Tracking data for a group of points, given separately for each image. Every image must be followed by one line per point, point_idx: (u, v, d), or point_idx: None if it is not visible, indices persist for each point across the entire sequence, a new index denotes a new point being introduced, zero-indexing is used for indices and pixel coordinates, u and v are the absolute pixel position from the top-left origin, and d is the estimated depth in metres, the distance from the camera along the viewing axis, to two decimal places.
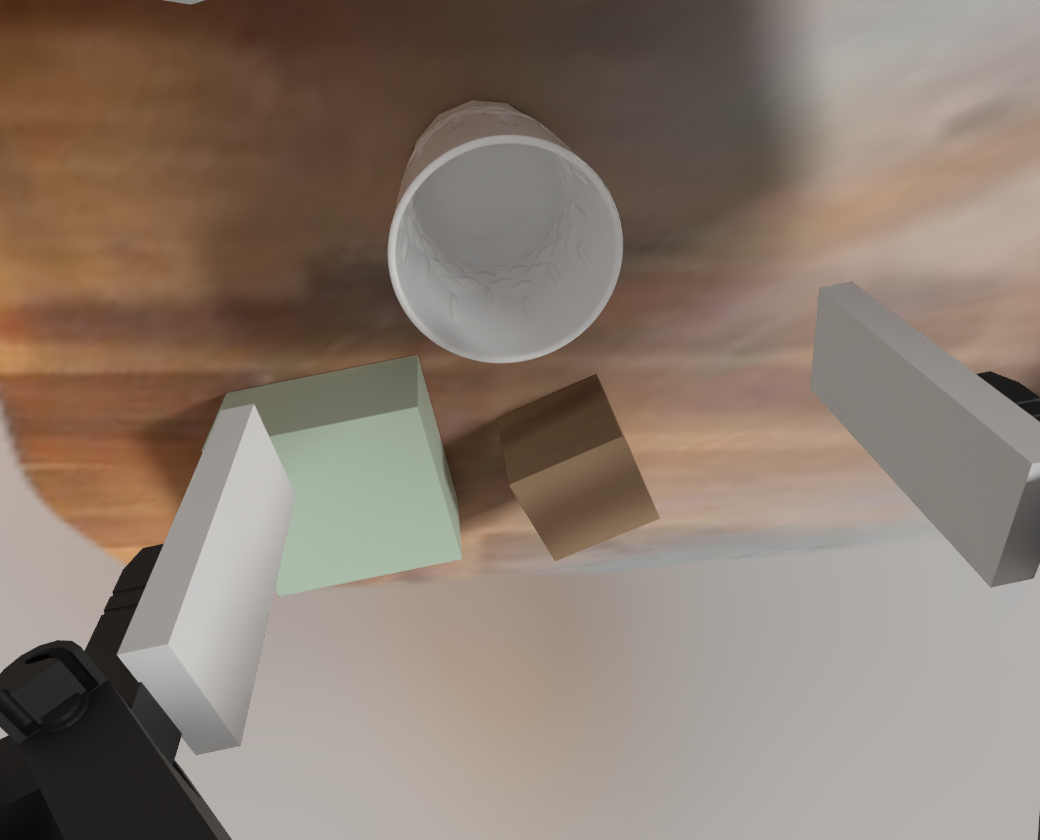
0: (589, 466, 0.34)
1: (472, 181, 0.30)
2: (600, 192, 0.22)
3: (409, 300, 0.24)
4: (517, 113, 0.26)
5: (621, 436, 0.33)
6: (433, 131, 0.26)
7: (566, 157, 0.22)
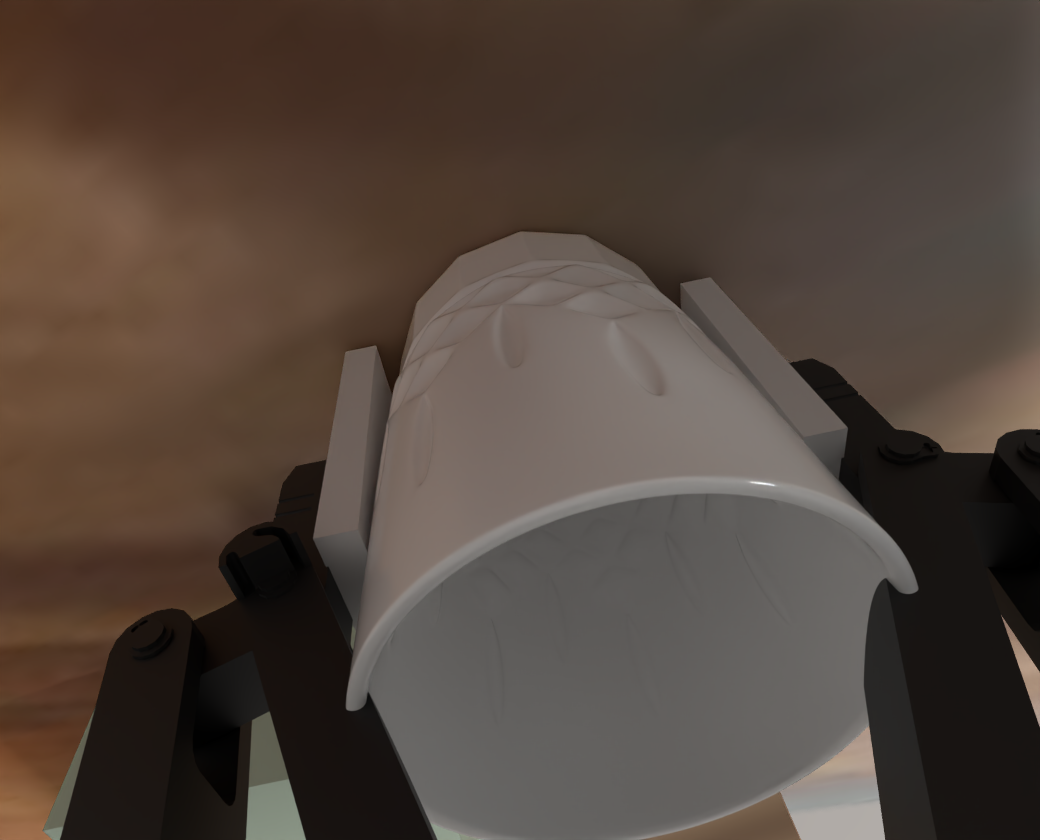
0: None
1: None
2: (889, 571, 0.09)
3: None
4: (625, 287, 0.13)
5: None
6: (452, 327, 0.13)
7: (826, 514, 0.08)
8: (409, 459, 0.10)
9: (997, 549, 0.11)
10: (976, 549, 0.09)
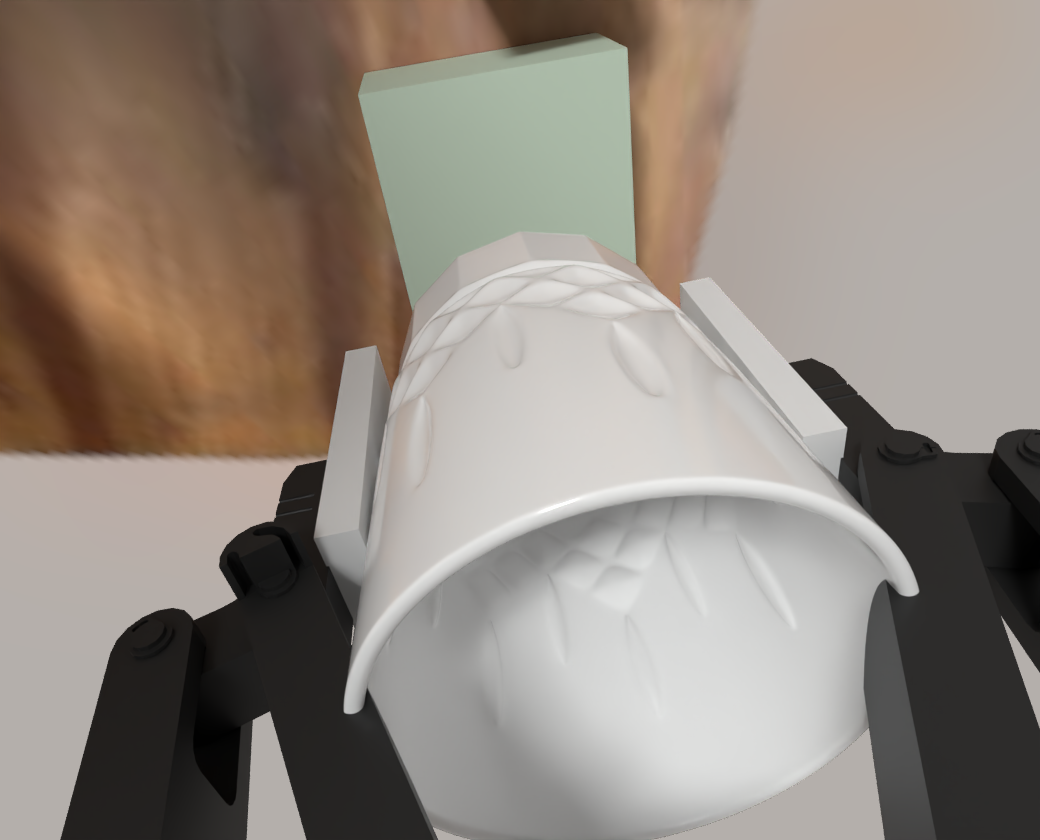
0: None
1: None
2: (890, 572, 0.09)
3: None
4: (624, 287, 0.13)
5: None
6: (451, 327, 0.13)
7: (826, 516, 0.08)
8: (407, 460, 0.10)
9: (996, 549, 0.11)
10: (975, 549, 0.09)
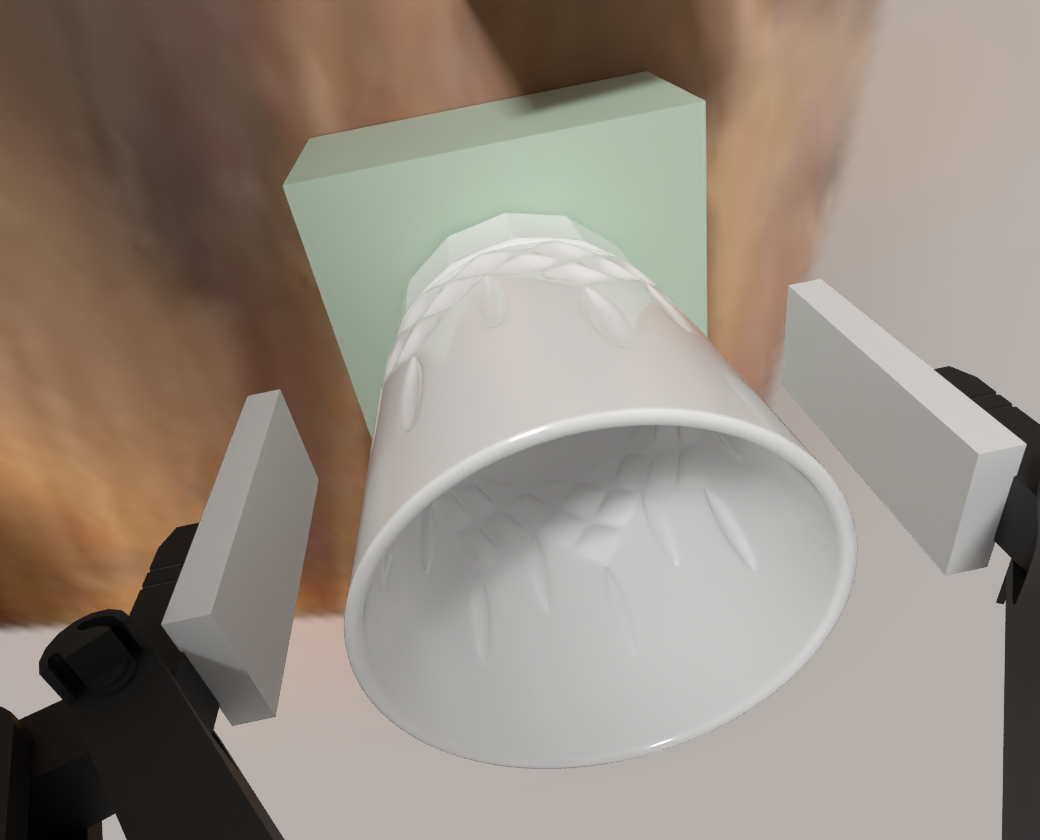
0: None
1: None
2: (825, 500, 0.10)
3: (396, 688, 0.11)
4: (600, 260, 0.14)
5: None
6: (440, 297, 0.14)
7: (764, 445, 0.09)
8: (400, 411, 0.11)
9: None
10: None
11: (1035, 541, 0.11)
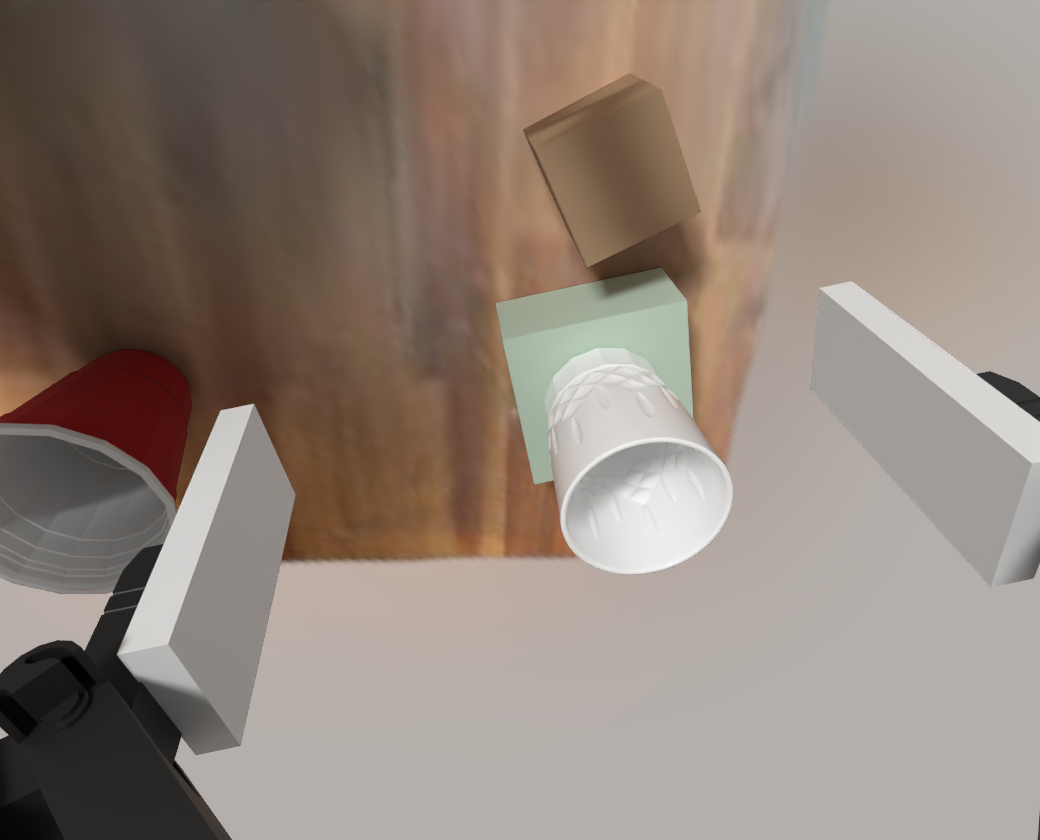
0: (573, 186, 0.32)
1: None
2: (718, 466, 0.30)
3: (571, 536, 0.32)
4: (641, 376, 0.35)
5: (537, 155, 0.31)
6: (578, 392, 0.35)
7: (695, 448, 0.30)
8: (572, 437, 0.32)
9: None
10: None
11: None
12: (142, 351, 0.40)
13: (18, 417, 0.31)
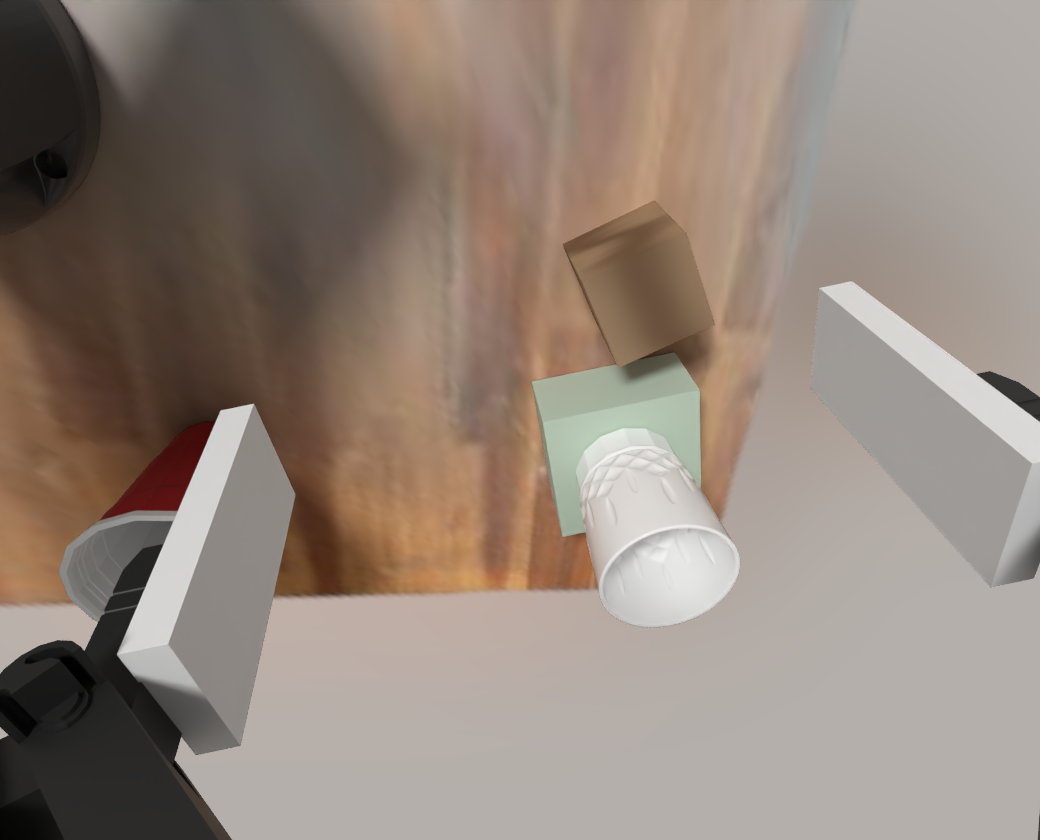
0: (610, 306, 0.38)
1: None
2: (729, 545, 0.37)
3: (606, 598, 0.39)
4: (662, 459, 0.41)
5: (582, 283, 0.37)
6: (609, 472, 0.41)
7: (711, 532, 0.36)
8: (608, 517, 0.39)
9: None
10: None
11: None
12: None
13: (145, 502, 0.36)
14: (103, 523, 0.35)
